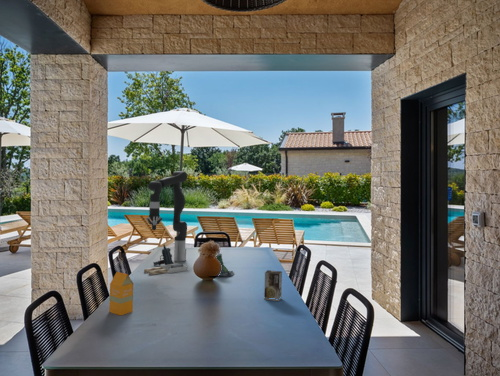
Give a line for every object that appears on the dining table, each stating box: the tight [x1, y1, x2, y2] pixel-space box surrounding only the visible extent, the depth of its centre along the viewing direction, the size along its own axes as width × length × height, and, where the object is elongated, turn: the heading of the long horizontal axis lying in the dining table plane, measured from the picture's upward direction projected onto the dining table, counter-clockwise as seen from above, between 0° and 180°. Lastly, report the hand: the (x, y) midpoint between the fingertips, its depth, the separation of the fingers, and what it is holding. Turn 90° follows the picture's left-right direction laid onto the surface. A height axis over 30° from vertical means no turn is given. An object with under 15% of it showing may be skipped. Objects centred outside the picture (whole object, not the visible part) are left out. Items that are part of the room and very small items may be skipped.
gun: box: [153, 243, 175, 267], centre depth 297 cm, size 3×17×15 cm
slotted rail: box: [143, 266, 169, 276], centre depth 274 cm, size 14×9×2 cm, turn 130°
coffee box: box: [263, 269, 283, 302], centre depth 221 cm, size 9×6×16 cm
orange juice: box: [108, 271, 134, 316], centre depth 192 cm, size 8×9×20 cm
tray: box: [160, 262, 188, 274], centre depth 284 cm, size 16×13×3 cm
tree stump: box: [216, 253, 235, 278], centre depth 274 cm, size 18×20×18 cm
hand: (153, 230), depth 288 cm, fingers closed
